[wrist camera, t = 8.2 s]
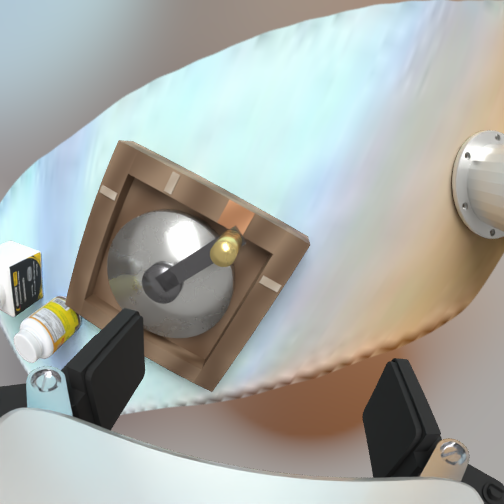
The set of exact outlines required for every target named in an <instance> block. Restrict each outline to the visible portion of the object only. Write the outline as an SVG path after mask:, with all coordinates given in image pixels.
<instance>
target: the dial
mask: <svg viewBox="0 0 504 504" xmlns="http://www.w3.org/2000/svg"><path fill="white" fill-rule="evenodd" d="M246 242H247V241H246V240H245V238H244V237H243V235H242V234H241V232H240V231H239V229H238V228H237V226H236V225H235V226H234V227H232V228H230V229H229V230H227V231H225V232H224V233H222V234H221V235H219V234H218V233H217V232H216V231H215V230H214V229H213V228H212V227H211V226H210V225H208V224H207V223H206V222H205V221H203V220H201V219H200V218H198V217H196V216H194V215H192V214H190V213H187V212H183V211H180V210H174V209H160V210H154V211H150V212H147V213H145V214H142V215H140V216H138V217H136V218H134V219H132V220H131V221H129V222H128V223H126V224H125V225H124V226H123V227H122V228H121V229H120V230H119V232H118V233H117V234H116V236H115V238H114V239H113V241H112V244H111V246H110V249H109V253H108V259H107V274H108V280H109V284H110V287H111V290H112V293H113V295H114V297H115V299H116V301H117V302H118V304H119V305H120V307H121V308H122V309H124V308H128V309H131V310H135V311H138V312H139V314H140V316H142V317H143V325H144V329H146V330H148V331H150V332H152V333H154V334H157V335H160V336H164V337H169V338H188V337H193V336H197V335H199V334H202V333H204V332H206V331H207V330H209V329H211V328H212V327H213V326H214V325H216V324H217V323H218V322H219V321H220V319H221V318H222V317H223V315H224V314H225V312H226V310H227V308H228V306H229V304H230V301H231V298H232V295H233V291H234V286H235V271H234V264H233V262H234V260H235V258H236V256H237V254H238V252H239V250H240V247H241V246H243V245H245V244H246Z"/></svg>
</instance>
